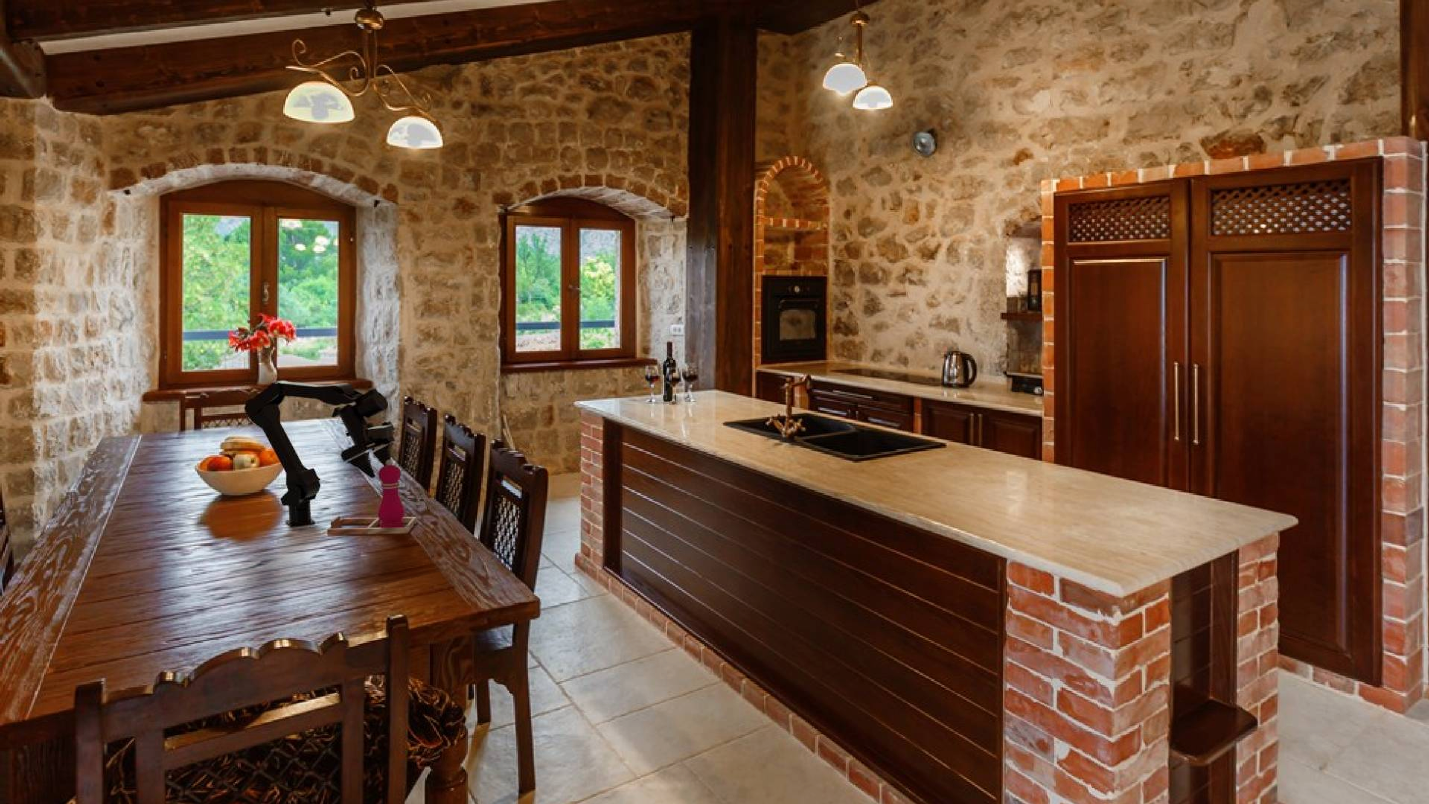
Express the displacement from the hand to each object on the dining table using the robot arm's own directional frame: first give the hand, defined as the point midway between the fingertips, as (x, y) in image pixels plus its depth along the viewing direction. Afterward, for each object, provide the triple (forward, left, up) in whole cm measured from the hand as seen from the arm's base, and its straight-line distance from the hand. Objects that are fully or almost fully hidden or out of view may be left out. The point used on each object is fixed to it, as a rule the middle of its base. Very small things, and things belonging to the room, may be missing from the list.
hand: (382, 473), depth 232 cm
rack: (-2, -3, -16) cm, 16 cm away
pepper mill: (+1, +2, -16) cm, 16 cm away
